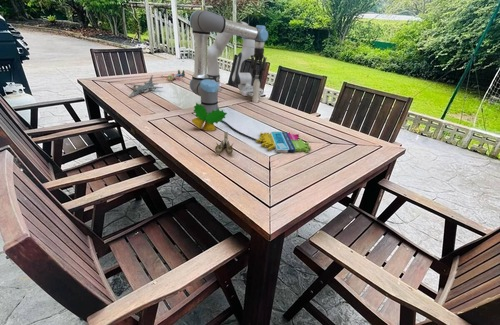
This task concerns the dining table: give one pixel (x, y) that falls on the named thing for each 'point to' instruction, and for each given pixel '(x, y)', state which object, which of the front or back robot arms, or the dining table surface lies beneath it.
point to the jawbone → (224, 145)
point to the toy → (174, 76)
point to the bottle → (256, 91)
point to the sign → (283, 142)
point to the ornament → (207, 117)
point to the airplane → (143, 87)
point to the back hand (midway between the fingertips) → (256, 94)
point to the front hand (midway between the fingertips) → (257, 78)
